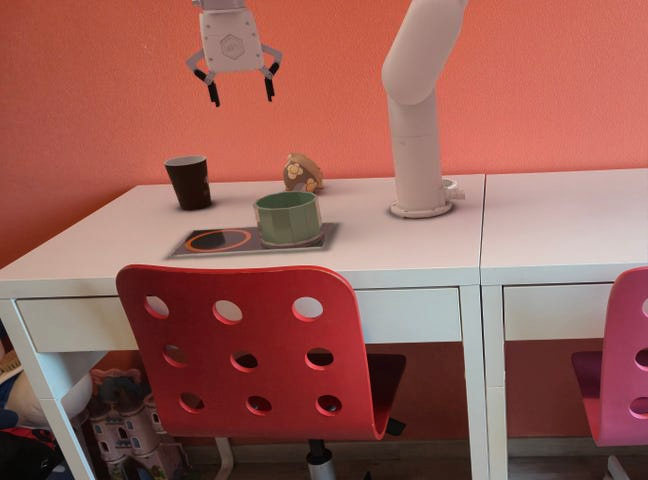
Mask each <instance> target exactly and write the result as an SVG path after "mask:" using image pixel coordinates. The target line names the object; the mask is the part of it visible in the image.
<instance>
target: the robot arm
mask: <svg viewBox="0 0 648 480" xmlns="http://www.w3.org/2000/svg"><path fill="white" fill-rule="evenodd" d="M469 1H470V0H412V1H411V3H410V5H409V7H408V9H407V11H406V13H405V16H404V18H403V21H402V23H401V25H400V27H399V29H398V32H397V34H396V36H395V38H394V41H393V42H392V45H391V47H390V48H389V51H388V53H387V55H386V56H385V59H384V60H383V64H382V67H381V74H380V75H381V76H380V77H381V83H382V86H383V88H384V91H385V93H386V101H387V111H388V121H389V132H390V143H391V151H392V161H393V170H394V179H395V188H396V189H395V190H396V200H394V201H393V202H392V203H391V204H390V212H391V213H393V214H395V215H398V216H401V217H403V218H408V219H409V218H410V219H417V218H418V219H421V218H430V217H436V216H440V215H443V214H445V213H447V212H448V211H450V210H451V209H452V207H453V205H452V201H453V200H457V201H463V200H465V201H466V190H465V189H460V188H459V187H457V188H449V187H445V186H446V185H445V182H443V172H442V170H443V169H442V157H441V143H440V142H441V141H440V131H439V130H440V129H439V128H440V127H439V113H438V102H437V101H438V100H437V86H436V85H437V82H438V79H439V78H440V76H441V74H442V71H443V70H444V67H445V65H446V63H447V61H448V60H449V58H450V56H451V53H452V51H453V49H454V47H455V45H456V43H457V41H458V39H459V36H460V34H461V31H462V28H463V25H464V24H463V23H464V13H465V10H466V8H467V5H468V4H469ZM191 2H192V5H193V7H198V8H199V7H200V8H201V10H202V12H200V13H199V14H198V15H199V16H198V17H199V31H200V36H201V37H200V38H201V41H202V42H201V43H202V48H201V49H200V50H198V51H197V52H195V53H193V54H192V55H191V56H189V57H188V58H186V60H185V64H186V66H187V67H188V68H189V69H190V71H191V72H192V73H193V74H194V76H195V77H196V78H197V79H199V80H201V81H202V82H203V83H204V84H205V85H206V86H207V90H208V95H209V99H210V102H211V103H214V105H215V107H216V108H220V106H221V102H220V97H219V93H218V88H217V83H216V82H215V80H214V79H215V78H216V76H217V74H229V73H239V72H242V73H243V72H250V71H257V70H258V71H259V72H260V73H261V74H262V75H263V76H264V79H263V81H264V87H265V90H266V91H265V92H266V97H267V101H268V102H269V103H273V97H276V93H275V87H274V83H273V82H274V81H273V78H274V76H275V75H276V73H277V72H278V71H279V70H280V66H281V63H282V61H283V60H282V59H283V57H284V54H283V53H284V52H282V51H281V50H278V49H276V48H274V47H271V46H269V45H267V44H264V43H262V42H261V39H260V34H259V29H258V27H257V23H256V20H255V16H254V14H253V12H252V10H251V9H248V8H247V3H246V0H191ZM264 53H265V54H267V55H270V56H273V58H274V59H273V62H272V63H271V66H270V67H269V68H268V67H267V66H266V65H265V57H264ZM203 58H205V63H206V66H207V69H208V70H209V71H208V72H207V74H206V73H205V72H204V71H203V70H201V69H200V68H199V66H198V65H197V63H198V62H199V61H200V60H202V59H203Z"/></svg>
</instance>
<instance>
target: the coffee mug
mask: <svg viewBox="0 0 648 480" xmlns="http://www.w3.org/2000/svg"><path fill="white" fill-rule="evenodd" d="M163 165H164V167H165V171H166V172H167V173H166V174H167V176H168V178H169V180H170V181H169V182H170V183H171V186H172V188H173V190H174V191H173V192H174V193H175V195H176V199H177V202H178V203H179V206H180V209H181V210H182V211H183V210H184V211H197V210H199V211H200V210H203V209H207V208H208V207H211V206H212V198H211V197H212V196H211V187H210V179H209V171H208V163H207V157H206V156H205V155H185V156H177V157H173V158H169V159H167V160H165V161H164V162H163Z"/></svg>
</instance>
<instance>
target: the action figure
mask: <svg viewBox="0 0 648 480" xmlns="http://www.w3.org/2000/svg"><path fill="white" fill-rule="evenodd" d="M286 160H287V161H288V162H287V163H286V164H285V166H284V169H283V172H282V173H283V175H282V177H283V178H282V179H283V183H284V186H285V188H284V192H287V191H292V190H293V189H294V188H295V186H296V185H297V183H305V185H306V189H305V192H312V193H314V192H315V191H316V190H317V189H323V187H324V182H323V179H324V174H323V172H322V171H321V167H319V166H318V165H317V163H316V162H315V161H314V160H312V159H310V158H309V157H307V155H305V154H303V153H299V152H290V154H288V155H287V156H286Z"/></svg>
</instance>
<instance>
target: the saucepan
mask: <svg viewBox="0 0 648 480" xmlns="http://www.w3.org/2000/svg"><path fill="white" fill-rule="evenodd" d="M305 189H306V185H305V183H297V185H296V186H295V188H294V189H293V190H292V191H279V192H273V193H270V194H269V193H268V194H266V195H264V196H261V197H259V198H257V199H255V200H254V202H253V203H252V206H253V207H252V208H253V211H254V216H255V221H256V227H258V231H259V236H260V238H261V240H262V242H263V243H264V244H267V245H270V246H294V245H300V244H304V243H308V242H311V241H313V240H316V239H317V238H319V237H320V236H321V235H322V233H323V232H322V230H323V226H322V223H323V221H322V213H321V208H320V207H321V206H320V201H319V196H318V195H317V194H315V193H314V192H305Z"/></svg>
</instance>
